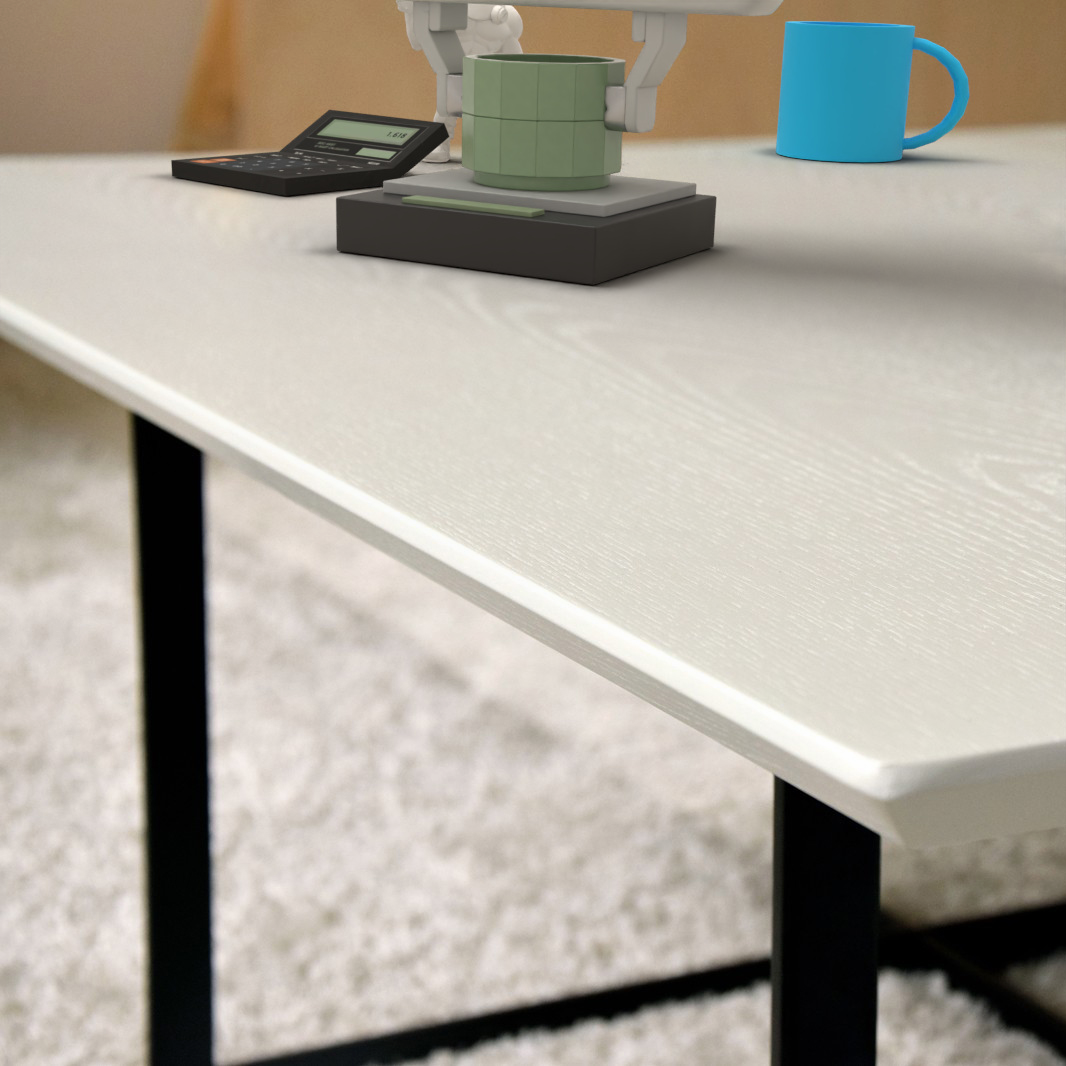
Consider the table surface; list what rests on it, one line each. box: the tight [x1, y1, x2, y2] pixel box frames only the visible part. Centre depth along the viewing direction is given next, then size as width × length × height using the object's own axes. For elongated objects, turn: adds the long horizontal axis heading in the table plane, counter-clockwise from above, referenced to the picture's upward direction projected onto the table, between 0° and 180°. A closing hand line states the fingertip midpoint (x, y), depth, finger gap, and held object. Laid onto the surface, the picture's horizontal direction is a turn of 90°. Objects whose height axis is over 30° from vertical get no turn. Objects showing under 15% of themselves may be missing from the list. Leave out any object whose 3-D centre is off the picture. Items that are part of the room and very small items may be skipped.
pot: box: [461, 52, 627, 191], centre depth 67 cm, size 7×7×5 cm
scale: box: [335, 167, 717, 286], centre depth 68 cm, size 12×11×3 cm
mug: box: [775, 20, 970, 163], centre depth 105 cm, size 12×8×8 cm
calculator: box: [170, 109, 449, 197], centre depth 88 cm, size 9×12×3 cm
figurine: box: [395, 0, 524, 163], centre depth 96 cm, size 10×5×12 cm, turn 127°
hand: (541, 124), depth 68 cm, fingers closed on pot, 6 cm apart
